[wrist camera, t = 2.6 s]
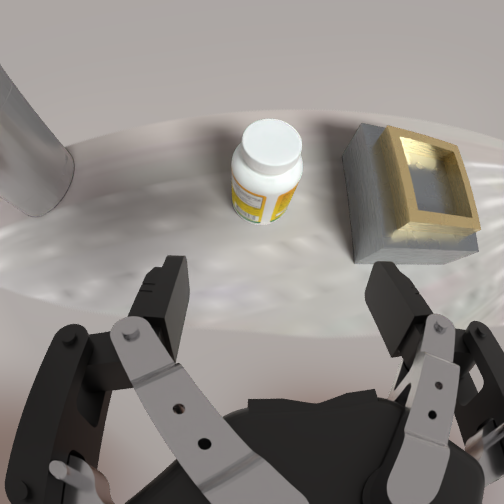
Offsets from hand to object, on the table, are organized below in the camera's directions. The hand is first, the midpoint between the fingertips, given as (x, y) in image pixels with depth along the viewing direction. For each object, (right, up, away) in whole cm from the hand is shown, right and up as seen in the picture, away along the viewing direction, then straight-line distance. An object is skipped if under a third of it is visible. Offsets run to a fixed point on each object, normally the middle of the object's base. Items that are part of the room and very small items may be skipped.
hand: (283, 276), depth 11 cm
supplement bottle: (0, +6, +15) cm, 16 cm away
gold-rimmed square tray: (+15, +6, +15) cm, 22 cm away
